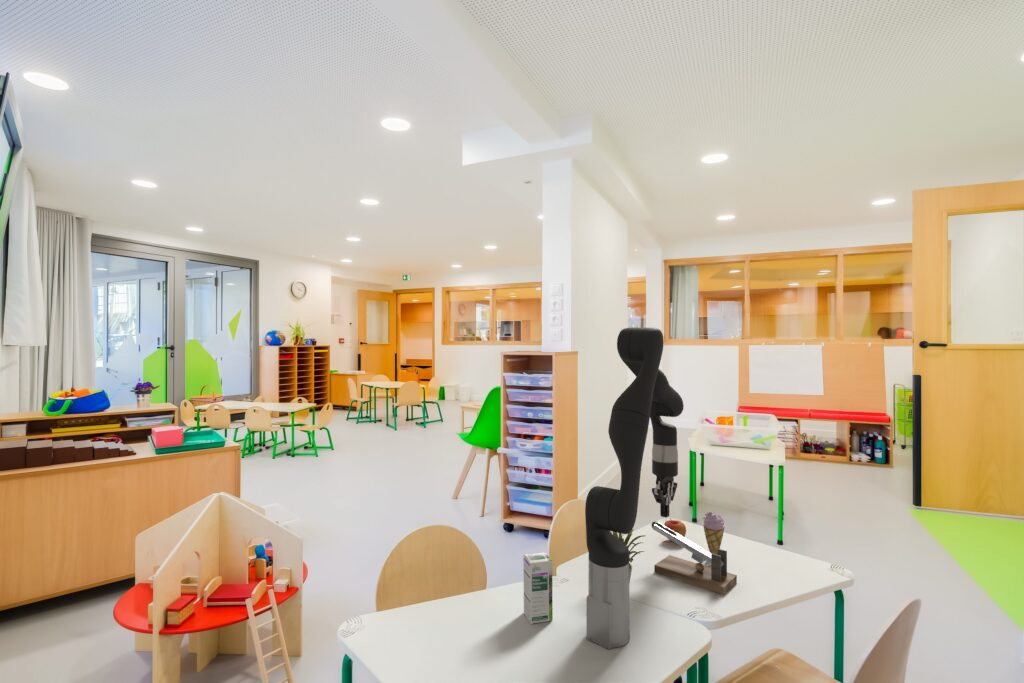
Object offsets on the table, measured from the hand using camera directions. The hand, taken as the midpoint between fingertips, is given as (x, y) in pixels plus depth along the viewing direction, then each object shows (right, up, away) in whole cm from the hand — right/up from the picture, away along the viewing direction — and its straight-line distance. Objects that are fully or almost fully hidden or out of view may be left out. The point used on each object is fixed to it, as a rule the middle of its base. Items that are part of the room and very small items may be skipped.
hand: (664, 516), depth 146 cm
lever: (+4, -8, -4) cm, 10 cm away
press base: (+7, -15, -7) cm, 18 cm away
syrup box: (-40, -14, -29) cm, 51 cm away
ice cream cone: (+17, -16, +6) cm, 24 cm away
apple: (+10, -16, +20) cm, 28 cm away
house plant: (-16, -15, -14) cm, 26 cm away
